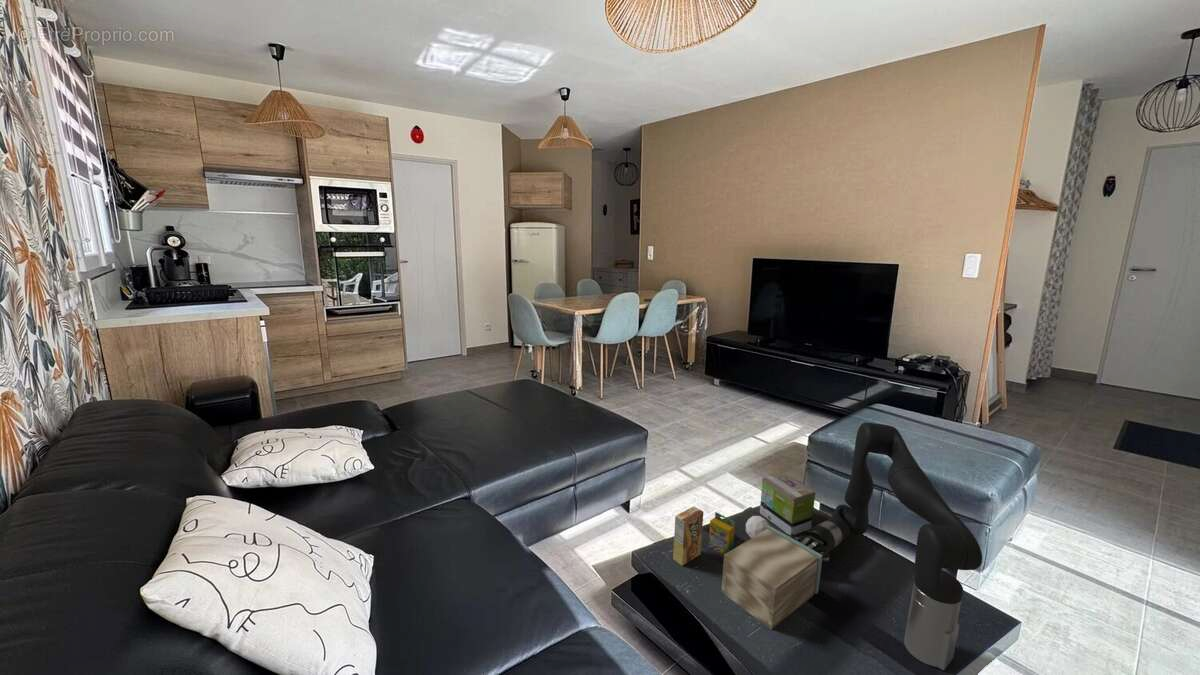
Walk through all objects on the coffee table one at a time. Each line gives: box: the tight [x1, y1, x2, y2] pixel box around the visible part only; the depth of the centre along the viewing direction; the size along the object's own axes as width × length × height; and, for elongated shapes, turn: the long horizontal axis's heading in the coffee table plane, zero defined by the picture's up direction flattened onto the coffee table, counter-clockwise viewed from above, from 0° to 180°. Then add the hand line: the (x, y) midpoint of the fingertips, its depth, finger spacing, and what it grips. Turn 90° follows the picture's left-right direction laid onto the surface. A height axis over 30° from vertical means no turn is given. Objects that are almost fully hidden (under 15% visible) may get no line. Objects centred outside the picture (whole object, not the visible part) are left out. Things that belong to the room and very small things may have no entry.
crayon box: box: [708, 511, 736, 556], centre depth 149 cm, size 7×3×12 cm, turn 42°
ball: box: [745, 515, 771, 539], centre depth 156 cm, size 8×8×8 cm
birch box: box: [721, 529, 818, 630], centre depth 131 cm, size 16×20×12 cm
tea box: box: [759, 472, 816, 537], centre depth 164 cm, size 15×10×15 cm
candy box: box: [672, 505, 704, 566], centre depth 145 cm, size 9×4×15 cm, turn 129°
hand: (792, 559), depth 138 cm, fingers closed
